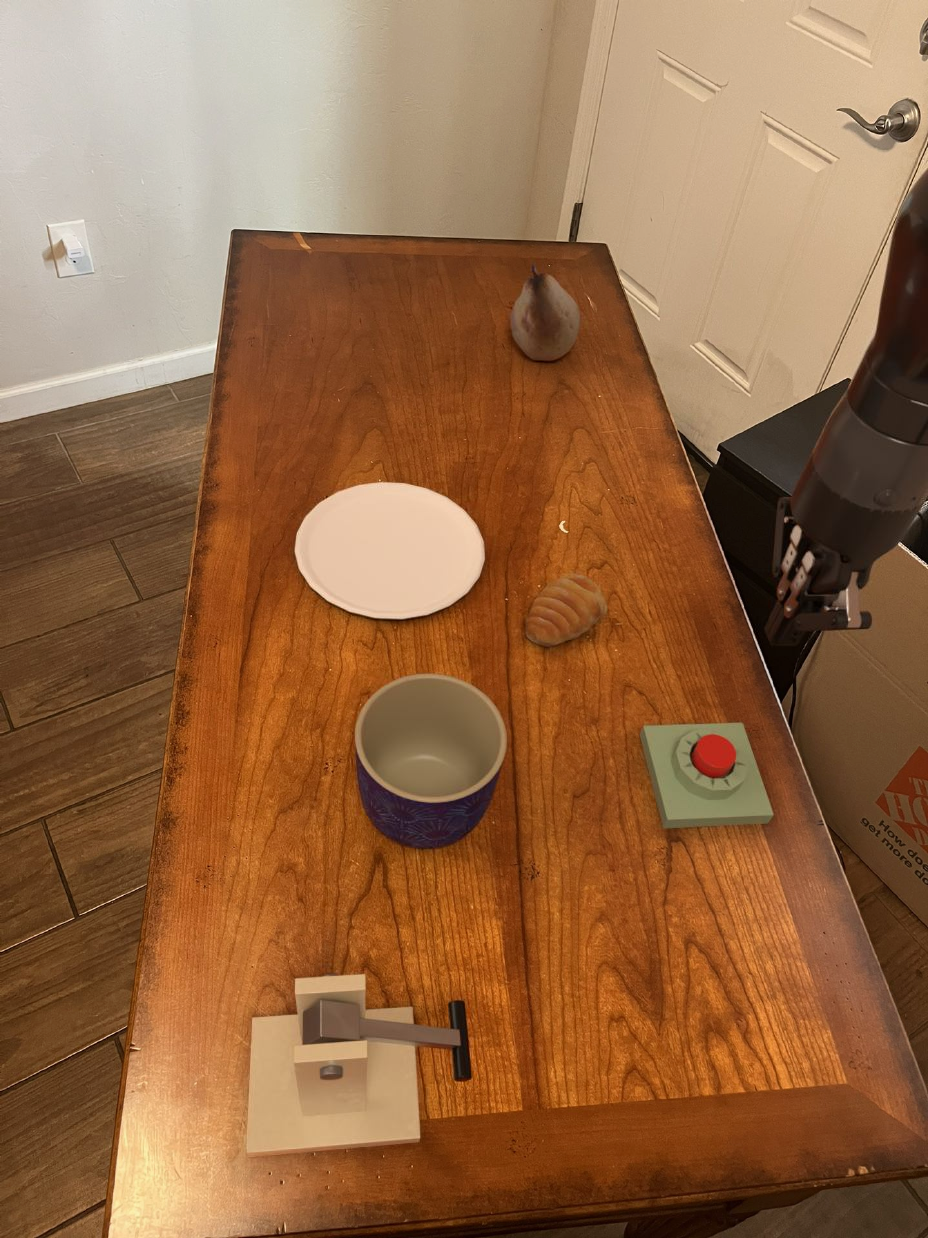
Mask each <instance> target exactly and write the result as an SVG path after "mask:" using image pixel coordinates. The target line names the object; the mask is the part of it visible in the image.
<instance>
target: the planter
mask: <svg viewBox="0 0 928 1238" xmlns="http://www.w3.org/2000/svg"><path fill="white" fill-rule="evenodd" d="M354 748H355V750H354V751H355V764H356V765H355V766H356V767H355V768H356V777H357V787H358V791H359V792H358V793H359V796H360V800H361V804H362V806H363V809H364V811H365V813H366V815H367V817H368V818H369V820H370V822H371V823H372V825H373V826H374V827H375V828H376V829H377V830H378V831H379V832H380V833H381V834H382V835H383V836H385V837H386V838H388V839H389V840H391V841H392V842H394V843H396V844H399V845H401V846H403V847H407V848H411V849H416V850H436V849H440V848H444V847H447V846H451V845H453V844H455V843H457V842H459V841H461V840H462V839H464V838H465V837H467V836H468V835H469V834H470V833H471V832H472V831H473V830H474V829H475V828H476V827H477V826H478V825H479V823H480V821H482V819H483V817H484V816H485V814H486V812H487V810H488V808H489V806H490V804H491V802H492V798H493V796H494V794H495V790H496V787H497V785H498V781H499V777H500V773H501V771H502V767H503V763H504V760H505V756H506V753H507V748H508V735H507V729H506V724H505V721H504V718H503V716H502V715H501V712H500V710H499V709H498V707H497V706H496V704H494V702H493V700H491V698H489V696H487V695H486V694H485V693H484V692H483V691H482V690H480V689H479V688H477V687H476V686H474V685H473V684H471V683H469V682H467V681H465V680H463V679H460V678H458V677H455V676H451V675H447V674H443V673H442V674H441V673H416V674H415V673H414V674H410V675H406V676H402V677H399V678H397V679H393V680H392V681H390V682H388V683H386V684H385V685H383V686H381V687H379V689H377V690H376V691H375V692H374V693H373V694H372V695H371V696H370V697H369V698H368V699H367V701H366V702H365V704H363V706H362V708H361V710H360V712H359V714H358V717H357V719H356V723H355V729H354Z"/></svg>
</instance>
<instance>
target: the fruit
mask: <svg viewBox="0 0 928 1238" xmlns="http://www.w3.org/2000/svg"><path fill="white" fill-rule="evenodd" d="M529 271H530V273H531V274H532V276H531V277H530V278H528V279H527V280H526V281H525V282H524V284H523V287H522V289H521V294H520V295H519V296H518V297H517V298H516V300H515V301H514V304H513V308H512V311H511V313H510V330H511V334H512V337H513V340H514V341H515V343H516V344H517V346H518V347H519V348H520V349H521V352H523V353H524V355H526V357H528V358H530V359H531V360H532V361H545V362H552V361H556V360H558V359H560V358H562V357H563V356H565V355H566V354H567V353H569V352H570V351H571V349H573V347H574V345H575V344H576V342H577V339H578V337H579V333H580V328H581V313H580V309H579V306H578V304H577V302H576V301H575V300H574V298H573V297H572V296H571V295H570V294H569V293H568V292H567V291H566V290H565V289H564V288H563V287H562V286H561V285H560V283H559V282H558V281H557V280H556V278H554V277H553V276H552V275H550V274H549V273H540V274H538V271H537V267H536V266H535V265H532V266H530V269H529Z"/></svg>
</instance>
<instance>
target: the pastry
mask: <svg viewBox="0 0 928 1238" xmlns="http://www.w3.org/2000/svg"><path fill="white" fill-rule="evenodd" d="M607 613H608V605H607V603H606V598H605V597H604V595H603V593H602V589H601V588H600V587H599V585H598V584H597V583H595V582H594V581H593V580H592V579H591V578H589V577H588V576H586V575H583V574H578V573H576V572H569V573H564V574H563V575H562V576H560V577H559V578H557V579H555V580H553V581H551V582H549V583H547V584H546V586H545V587H544V588H543V589H542V590H541V591H540V592H539V593H538V594H537V595H536V598H534V600H533V602H532V605H531V607H530V610H529V613H528V614H527V618H526V619H525V636H526V638H527V639H529V640H530V641H531V642H533V643H534V644H536V645H539V646H542V647H546V648H551V647H555V646H557V645H562V644H563V643H565V642H567V641H573V640H576V639H578V638H580V636H581V635H583V634H584V633H586V632H587V631H588V630H590V628H592V627H593V626H594V625H595V624H597V622H598V621H599V619H600V618H602V617H604V616H605V615H606V614H607Z"/></svg>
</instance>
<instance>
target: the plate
mask: <svg viewBox="0 0 928 1238" xmlns="http://www.w3.org/2000/svg"><path fill="white" fill-rule="evenodd" d="M485 553H486V552H485V541H484V538H483V536H482V534H481V531H480V529H479V527H478V525H477V523H476V522H475V521H474V520H473V518H472V517H471V516H470V515H469V514H468V512H467V511H466V510H465V509H463V507H461V506H459V505H458V504H457V503H456V502H454V501H453V500H451V499H450V498H448V497H447V496H445V495H443V494H441V493H438V492H436V491H434V490H432V489H430V488H428V487H422V486H417V485H414V484H409V483H405V482H391V481H389V482H387V481H378V482H371V483H363V484H358V485H353V486H351V487H348V488H345V489H342V490H339V491H337V492H335V493H333V494H331V495H330V496H328V497H327V498H325V499H323V500H322V501H320V502H318V503H317V504H316V505H315V506H314V507H313V508H312V509H311V510H310V511H309V512H308V513H307V514H306V515H305V516H304V518H303V519H302V522H301V524H300V525H299V528H298V529H297V531H296V536H295V544H294V555H295V559H296V563H297V567H298V571H299V572H300V574H301V575H302V577H303V578H304V580H305V581H306V583H307V585H308V586H309V587H310V588H311V589H312V590H313V591H314V592H315V593H317V594H318V595H319V596H320V597H321V598H323V600H325V601H326V602H327V603H329V604H330V605H333V606H335V607H338V608H339V609H341V610H343V611H345V612H347V613H349V614H353V615H358V616H361V617H366V618H369V619H373V620H391V621H392V620H393V621H404V620H410V619H417V618H422V617H428V616H430V615H432V614H434V613H437V612H441V611H442V610H445V609H447V608H450V607H451V606H453V605H454V604H456V603H457V602H458V601H459V600H461V599H462V598H463V597H465V596H466V595H468V594H469V592H470V591H471V589H472V588H473V587H474V586H475V584H476V583H477V582H478V581H479V579H480V576H481V573H482V570H483V567H484V563H485V561H486V556H485V555H486V554H485Z"/></svg>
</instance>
